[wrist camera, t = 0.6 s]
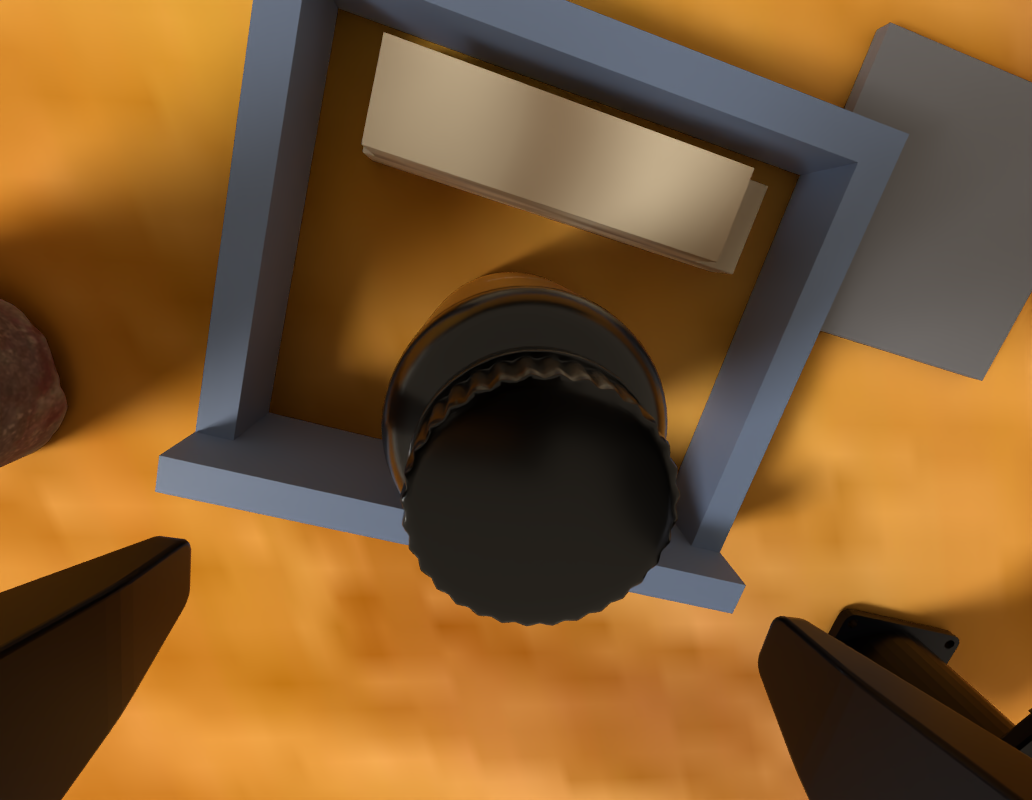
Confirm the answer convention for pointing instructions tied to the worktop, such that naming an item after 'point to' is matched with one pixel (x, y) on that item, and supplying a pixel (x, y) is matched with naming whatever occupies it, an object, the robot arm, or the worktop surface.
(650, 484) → the supplement bottle
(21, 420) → the candle
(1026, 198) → the mat
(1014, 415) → the worktop surface
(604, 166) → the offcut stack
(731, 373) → the blue-grey rectangular tray
